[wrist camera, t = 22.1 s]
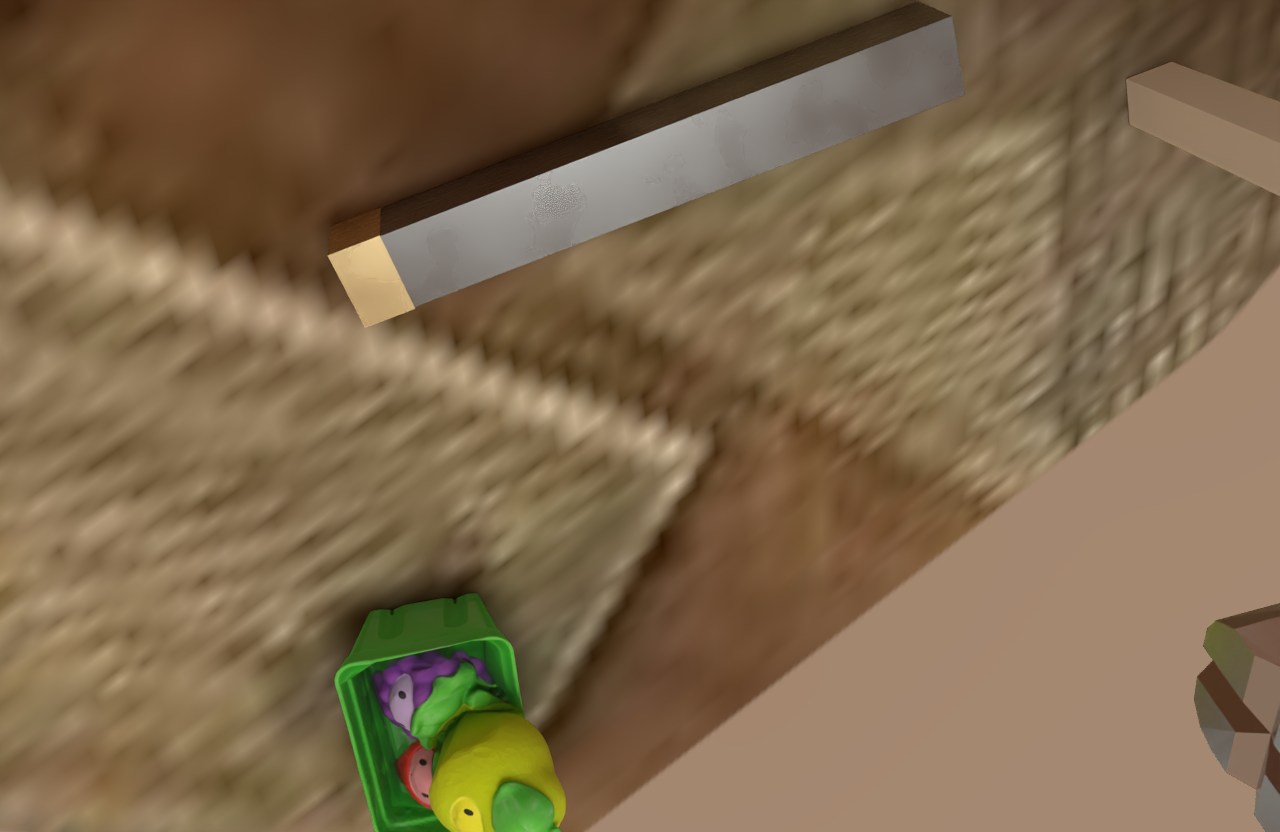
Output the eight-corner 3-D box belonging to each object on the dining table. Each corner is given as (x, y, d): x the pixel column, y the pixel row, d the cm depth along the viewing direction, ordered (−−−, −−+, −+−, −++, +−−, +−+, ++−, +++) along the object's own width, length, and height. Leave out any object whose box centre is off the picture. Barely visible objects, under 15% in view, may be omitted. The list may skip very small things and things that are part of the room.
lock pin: (331, 225, 43) (327, 255, 40) (917, 0, 43) (952, 15, 40) (366, 294, 44) (365, 327, 42) (931, 77, 45) (965, 96, 42)
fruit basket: (333, 593, 51) (320, 782, 42) (527, 559, 52) (557, 737, 43) (380, 768, 57) (378, 970, 47) (553, 735, 58) (585, 926, 48)
